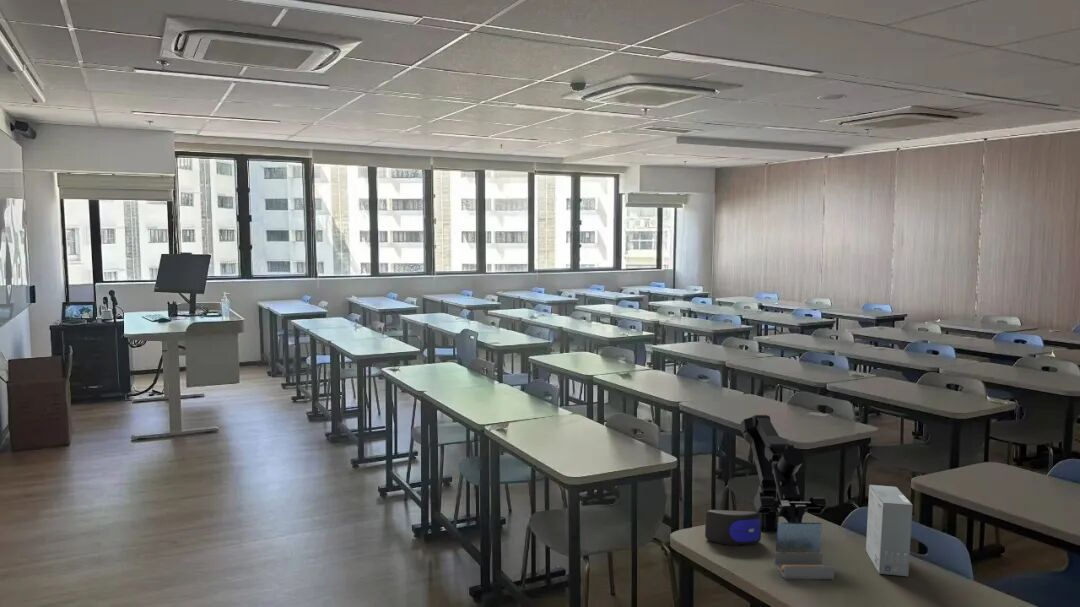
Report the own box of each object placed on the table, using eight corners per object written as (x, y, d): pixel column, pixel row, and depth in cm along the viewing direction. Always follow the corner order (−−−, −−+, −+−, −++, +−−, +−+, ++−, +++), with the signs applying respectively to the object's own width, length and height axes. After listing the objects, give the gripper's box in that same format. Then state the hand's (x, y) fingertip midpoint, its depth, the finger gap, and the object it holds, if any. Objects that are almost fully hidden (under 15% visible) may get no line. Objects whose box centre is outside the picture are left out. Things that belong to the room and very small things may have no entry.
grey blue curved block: (706, 545, 210) (707, 514, 209) (704, 538, 214) (705, 508, 214) (763, 547, 208) (764, 516, 208) (759, 541, 213) (760, 510, 212)
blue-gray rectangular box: (776, 552, 197) (775, 550, 197) (820, 552, 197) (819, 551, 197) (778, 523, 196) (777, 522, 196) (821, 524, 196) (820, 522, 196)
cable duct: (774, 564, 197) (774, 552, 197) (821, 565, 197) (821, 552, 197) (784, 579, 189) (785, 566, 188) (833, 579, 189) (834, 567, 188)
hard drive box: (909, 577, 190) (913, 505, 189) (878, 574, 192) (882, 503, 190) (893, 552, 206) (896, 485, 204) (864, 550, 207) (867, 483, 205)
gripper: (809, 494, 213) (822, 545, 203) (747, 494, 213) (757, 545, 203) (821, 477, 205) (835, 530, 195) (756, 477, 205) (767, 529, 195)
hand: (798, 534), depth 197 cm, fingers closed, pressing on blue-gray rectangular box
